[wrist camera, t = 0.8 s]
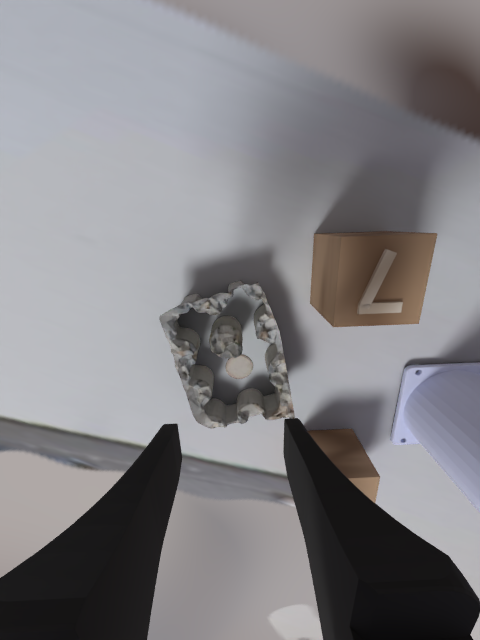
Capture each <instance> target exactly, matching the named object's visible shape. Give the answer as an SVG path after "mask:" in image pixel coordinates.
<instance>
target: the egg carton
mask: <svg viewBox="0 0 480 640" xmlns="http://www.w3.org/2000/svg"><path fill="white" fill-rule="evenodd" d="M236 288H243V289H244V291H245V292H246V294H247V295H248V296H249V297H250V298H252V299H255V300H259V299H262V301H263V303H264V305H262V306H260V307H259V308H258V309H257V310H256V312H255V314H254V325H255V330H256V336H257V339H262V340H264V341H266V342H268V343H274V344H272V345H271V346H270V347H268V349H267V351H266V353H265V361H266V366H267V370H268V374H269V381H270V382H271V383H272V384H273V385H274V386H275V392H274V394H270V395H266V396H263V395H262V393H261V392H260V391H258V390H257V389H253V388H249V389H245V390H243V391H242V392H240V393H239V394H238V397H237V403H236V404H231V405H225V404H224V403H223V402H222V401H221V400H219V399H215V398H212V391H213V382H214V374H213V372H212V371H211V370H210V369H209V368H208V367H206V366H203V365H195V363H196V361H197V354H198V350H199V347H200V338H199V335H198V334H197V333H196V332H195V331H194V330H192V329H190V328H181V327H180V326H179V324H178V322H177V320H178V319H179V317H180V315H181V314H184V313H187V312H189V310H190V309H191V308H192V307H193V308H194V309H195V310H196V312H198V313H202V312H206V313H208V314H210V315H217V314H220V313H221V311H222V309H223V308H224V307H226V305H227V302H228V298H229V297H232V296H233V290H234V289H236ZM160 322H161V324H162V327H163V330H164V332H165V335H166V338H167V339H168V341H169V343H170V346H171V353H172V354H173V355H174V359H175V367H176V369H177V371H178V373H179V375H180V378H181V381H182V384H183V387H184V389H185V391H186V394H187V397H188V401H189V404H190V407H191V410H192V413H193V416H194V418H195V419H196V421H197V422H198V423H200V424H201V425H204V426H206V427H208V428H216V427H224V428H225V427H226V426H227V425H229V424H232V423H241V424H243V423H246V422H247V421H248V417H251V416H256V415H259V414H262V415H263V416H264V418H265V419H267V420H275V419H279V418H282V417H289V418H290V419H294V410H293V404H292V398H291V392H290V387H289V382H288V375H287V369H286V364H285V358H284V353H283V347H282V341H281V336H280V331H279V328H278V326H277V323H276V321H275V318H274V316H273V313H272V311H271V308H270V306H269V304H268V302H267V299H266V296H265V293H264V291H262V289H261V287H260V285H259V283H258V282H257V283H256V284H253V285H248V284H243V283H242V282H241V281H238V282H235V283H231V284H229V285H228V293H218V294H215V295H213V296H212V297H210V298H204V299H202V298H201V297H200V296H199V295H198V294H193V295H190V296H187V297H185V299H184V300H183V302H182V303H181V304H180V305H179V306H177V307H175V308H173V309H171V310H169V311H168V312H166V313H164V314H162V315H161V316H160ZM242 340H243V339H242V329H241V325H240V323H239V321H238V320H237V319H235V318H234V317H231V316H222V317H220V318H218V319H217V320H216V321H215V322H214V324H213V326H212V330H211V335H210V339H209V343H210V348H211V351H212V352H213V353H215V354H217V355H218V356H219V357H222V358H229V359H228V361H227V363H226V372H227V373H228V374H229V375H230V376H231V377H233V378H236V379H242V378H245V377H247V376H248V375H249V374H250V373H251V372H252V369H253V363H252V362H251V360H250V358H249V357H247V356H245V355H242V354H241V353H242ZM211 398H212V399H211Z"/></svg>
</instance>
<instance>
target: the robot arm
mask: <svg viewBox="0 0 480 640" xmlns="http://www.w3.org/2000/svg"><path fill="white" fill-rule="evenodd" d="M417 370H418V372H416V371H417ZM415 372H416V373H415ZM390 440H391V441H392V443H393V444H395V445H402V444H421V445H422V446H423V447H424V448H425V449H426V451H427V452H428V453H429V454H430V455H431V456H432V458H433V459H434V460H435V461H436V462H437V463H438V465H439V466H440V467H441V468H442V469H443V471H444V472H445V473H446V474H447V475H448V476H449V478H450V479H451V480H452V481H453V482H454V483H455V485H456V486H457V487H458V488H459V489H460V490H461V492H462V493H463V494H464V495H465V496H466V497H467V499H468V500H469V501H470V502H471V503H472V504H473V506H474V507H475V508H476V509H477V510H478V511H479V513H480V362H477V363H453V364H429V365H410V366H407V367H406V368H405V369H404V373H403V378H402V383H401V388H400V393H399V398H398V403H397V408H396V413H395V418H394V423H393V428H392V433H391V438H390ZM284 459H285V465H286V471H287V476H288V480H289V484H290V487H291V491H292V495H293V498H294V502H295V505H296V509H297V512H298V516H299V520H300V523H301V527H302V530H303V534H304V538H305V542H306V547H307V553H308V558H309V563H310V569H311V574H312V578H313V585H314V590H315V595H316V601H317V606H318V612H319V618H320V623H321V629H322V635H323V640H473V639H472V637H471V635H470V634H471V632H472V630H473V627H474V625H475V623H476V621H477V619H478V617H479V613H480V601H479V598H478V597H477V595H476V594H475V592H474V591H473V589H472V588H471V586H470V585H469V583H468V582H467V580H466V579H465V577H464V576H463V574H462V573H461V572H460V570H459V569H458V568H457V566H456V565H455V564H454V563H453V561H452V560H451V558H450V557H449V556H448V555H446V554H445V553H443V552H442V551H440V550H439V549H437V548H436V547H434V546H433V545H431V544H430V543H428V542H426V541H425V540H423V539H422V538H420V537H419V536H417V535H416V534H414V533H413V532H412V531H410V530H409V529H407V528H406V527H405V526H403V525H402V524H401V523H399V522H398V521H397V520H395V519H394V518H393V517H391V516H390V515H389V514H388V513H386V512H385V511H384V510H383V509H381V508H380V507H379V506H378V505H377V504H375V503H374V502H373V501H372V500H371V499H369V498H368V497H367V496H366V495H365V494H364V493H363V492H362V491H360V490H359V489H358V488H357V487H356V486H355V485H354V484H353V483H352V482H351V481H350V480H349V479H348V478H347V477H346V476H345V475H344V474H343V473H342V472H341V471H340V470H339V469H338V468H337V467H336V465H335V464H334V463H333V462H332V461H331V460H330V459H329V458H328V456H327V455H326V454H325V453H324V452H323V450H322V449H321V448H320V447H319V446H318V444H317V443H316V442H315V441H314V439H313V438H312V437H311V435H310V434H309V433H308V431H307V430H306V428H305V427H304V426H303V424H302V423H301V421H300V420H299V419H298V418H295V419H285V422H284ZM181 462H182V454H181V446H180V439H179V432H178V425H177V424H164V425H163V426H162V427H161V428H160V430H159V431H158V433H157V434H156V435H155V437H154V438H153V439H152V441H151V442H150V443H149V445H148V446H147V447H146V449H145V450H144V451H143V452H142V454H141V455H140V456H139V457H138V459H137V460H136V461H135V462H134V463H133V465H132V466H131V467H130V468H129V469H128V470H127V471H126V473H125V474H124V475H123V476H122V477H121V478H120V479H119V480H118V482H117V483H116V484H115V485H114V486H113V487H112V488H111V489H110V490H109V491H108V492H107V493H106V494H105V495H104V496H103V497H102V498H101V499H100V500H99V501H98V502H97V503H96V504H95V505H94V506H93V507H91V508H90V509H89V510H88V511H87V512H86V513H85V514H84V515H83V516H81V517H80V518H79V519H78V520H77V521H76V522H75V523H74V524H72V525H71V526H70V527H69V528H68V529H66V530H65V531H64V532H63V533H61V534H60V535H59V536H58V537H56V538H55V539H54V540H53V541H51V542H50V543H49V544H47V545H46V546H45V547H44V548H42V549H41V550H39V551H38V552H37V553H35V554H34V555H33V556H31V557H30V558H28V559H27V560H25V561H24V562H23V563H21V564H20V565H18V566H17V567H16V568H14V569H13V570H11V571H10V572H8V573H7V574H6V575H4V576H3V577H1V578H0V640H147V635H148V629H149V622H150V615H151V609H152V603H153V597H154V591H155V584H156V578H157V573H158V567H159V561H160V555H161V550H162V545H163V541H164V537H165V533H166V529H167V525H168V521H169V517H170V513H171V509H172V506H173V501H174V498H175V494H176V490H177V486H178V482H179V476H180V469H181Z"/></svg>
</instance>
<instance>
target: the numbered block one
mask: <svg viewBox="0 0 480 640" xmlns="http://www.w3.org/2000/svg"><path fill="white" fill-rule="evenodd" d="M308 433H309V434H310V435H311V437H312V438H313V439H314V441H315V442H316V443H317V444H318V446H319V447H320V448H321V449H322V450H323V452H324V453H325V454H326V455H327V456H328V458H329V459H330V460H331V461H332V462H333V463H334V464H335V465H336V467H337V468H338V469H339V470H340V471H341V472H342V473H343V474H344V475H345V476H346V477H347V478H348V479H349V480H350V481H351V482H352V483H353V484H354V485H355V486H356V487H357V488H358V489H359V490H360V491H362V492H363V493H364V494H365V495H366V496H367V497H368V498H369V499H371V500H372V501H373V502H374V503H375V501H376V496H377V490H378V485H379V480H380V476H379V474H378V472H377V471H376V469H375V467H374V466H373V464H372V462H371V460H370V459H369V457H368V455H367V454H366V452H365V450H364V448H363V447H362V445H361V443H360V441H359V440H358V438H357V436H356V435H355V433H354V431H353V429H333V430H311V431H308Z"/></svg>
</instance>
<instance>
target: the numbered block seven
mask: <svg viewBox="0 0 480 640" xmlns="http://www.w3.org/2000/svg"><path fill="white" fill-rule="evenodd" d="M436 238H437V233H415V232H392V231H379V232H350V233H322V234H314V245H313V262H312V279H311V296H310V304H311V305H312V306H313V307H314V308H315V309H316V310H317V311H318V312H319V313H320V314H321V315H322V316H323V317H324V318H325V319H326V320H327V321H328V322H329V323H330V324H331V325H332V326H333V327H348V326H374V325H399V324H419V320H420V315H421V310H422V306H423V301H424V296H425V291H426V286H427V281H428V277H429V272H430V267H431V262H432V257H433V252H434V248H435V243H436Z"/></svg>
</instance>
